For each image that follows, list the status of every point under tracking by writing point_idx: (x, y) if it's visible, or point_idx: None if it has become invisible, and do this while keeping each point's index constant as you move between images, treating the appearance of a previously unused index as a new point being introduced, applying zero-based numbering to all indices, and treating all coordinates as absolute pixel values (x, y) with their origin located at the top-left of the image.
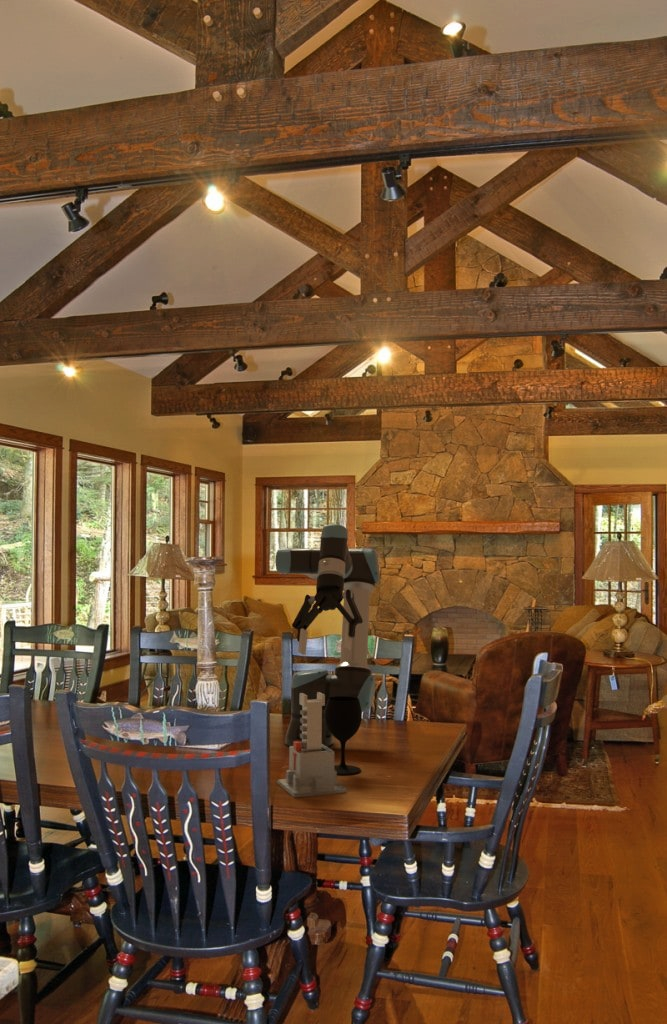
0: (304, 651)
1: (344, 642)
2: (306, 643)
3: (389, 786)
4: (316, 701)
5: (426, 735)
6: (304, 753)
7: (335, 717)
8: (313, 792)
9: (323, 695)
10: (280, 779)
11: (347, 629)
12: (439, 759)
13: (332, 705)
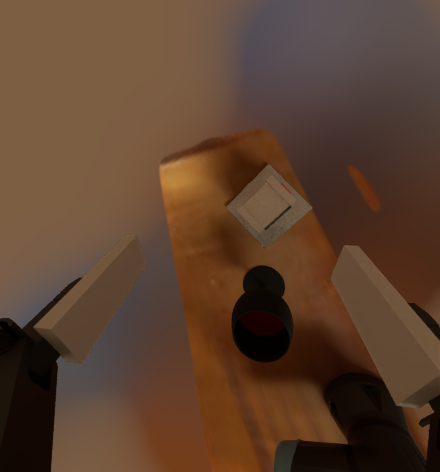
0: (338, 278)
1: (125, 246)
2: (354, 322)
3: (198, 246)
4: (254, 203)
5: (237, 457)
6: (263, 177)
7: (262, 292)
8: (252, 181)
9: (239, 208)
10: (309, 209)
11: (69, 292)
12: (192, 357)
13: (270, 306)
